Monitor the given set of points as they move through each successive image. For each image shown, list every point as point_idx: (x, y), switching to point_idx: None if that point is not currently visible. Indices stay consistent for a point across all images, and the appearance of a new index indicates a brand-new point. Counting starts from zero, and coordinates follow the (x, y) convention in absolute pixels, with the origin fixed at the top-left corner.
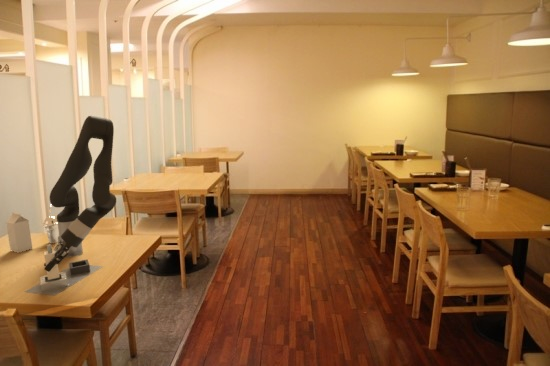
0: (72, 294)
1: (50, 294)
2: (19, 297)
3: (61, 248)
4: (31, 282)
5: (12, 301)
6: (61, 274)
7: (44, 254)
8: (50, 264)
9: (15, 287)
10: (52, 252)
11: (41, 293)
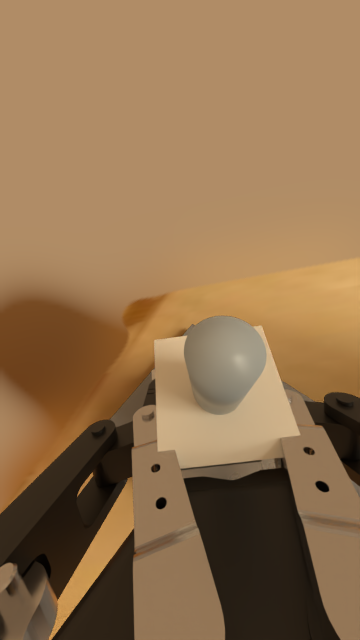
0: (108, 515)
1: (118, 415)
2: (186, 319)
3: (108, 636)
4: (307, 333)
5: (166, 307)
6: (250, 466)
7: (174, 338)
8: (145, 405)
9: (273, 296)
10: (204, 417)
11: (147, 380)
